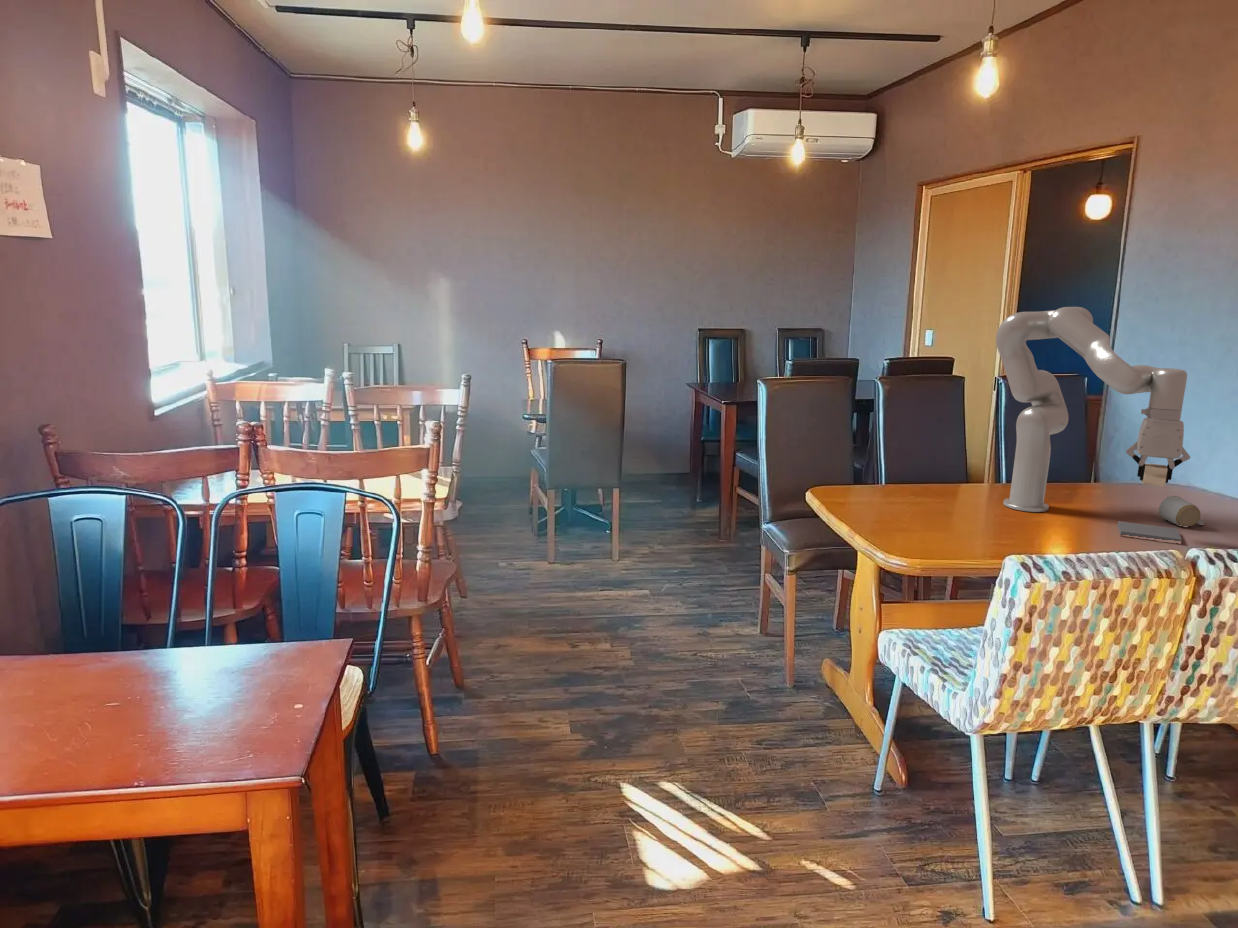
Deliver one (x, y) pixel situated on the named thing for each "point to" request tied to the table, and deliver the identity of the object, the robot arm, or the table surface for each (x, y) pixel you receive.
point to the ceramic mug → (1180, 511)
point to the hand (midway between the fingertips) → (1153, 480)
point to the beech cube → (1155, 475)
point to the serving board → (1148, 531)
